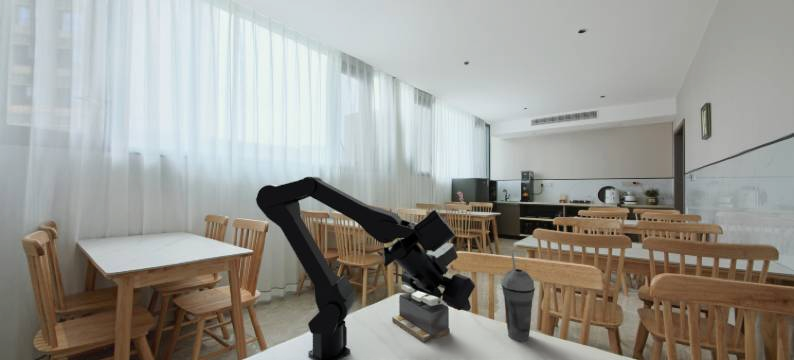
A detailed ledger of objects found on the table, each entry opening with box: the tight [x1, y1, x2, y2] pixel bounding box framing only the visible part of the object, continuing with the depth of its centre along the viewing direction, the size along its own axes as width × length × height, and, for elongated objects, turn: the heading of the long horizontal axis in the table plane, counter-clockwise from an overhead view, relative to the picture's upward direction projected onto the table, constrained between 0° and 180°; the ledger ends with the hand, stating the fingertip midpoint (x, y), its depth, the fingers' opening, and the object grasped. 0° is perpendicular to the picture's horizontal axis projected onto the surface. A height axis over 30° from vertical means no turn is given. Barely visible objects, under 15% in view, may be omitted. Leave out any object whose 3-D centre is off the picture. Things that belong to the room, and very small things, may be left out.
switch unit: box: [391, 292, 451, 343], centre depth 76 cm, size 8×13×6 cm, turn 34°
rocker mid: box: [411, 291, 432, 302], centre depth 77 cm, size 5×3×1 cm
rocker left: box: [400, 284, 417, 293], centre depth 81 cm, size 5×3×1 cm
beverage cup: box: [501, 250, 536, 342], centre depth 71 cm, size 7×7×20 cm
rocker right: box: [422, 296, 446, 306], centre depth 73 cm, size 5×3×1 cm
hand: (454, 302), depth 70 cm, fingers open, 9 cm apart
